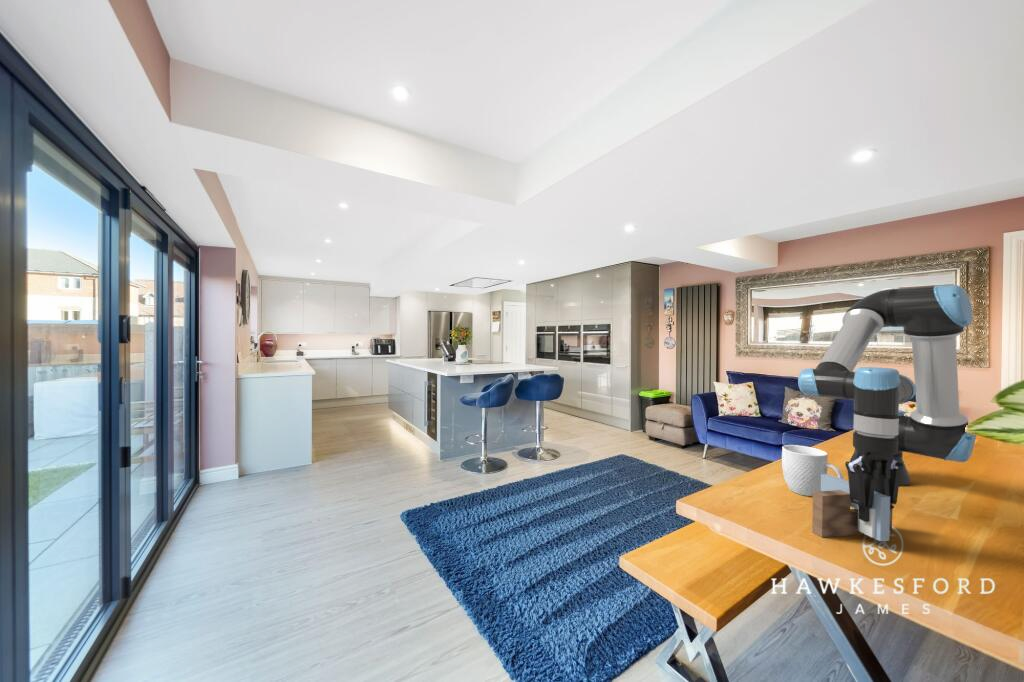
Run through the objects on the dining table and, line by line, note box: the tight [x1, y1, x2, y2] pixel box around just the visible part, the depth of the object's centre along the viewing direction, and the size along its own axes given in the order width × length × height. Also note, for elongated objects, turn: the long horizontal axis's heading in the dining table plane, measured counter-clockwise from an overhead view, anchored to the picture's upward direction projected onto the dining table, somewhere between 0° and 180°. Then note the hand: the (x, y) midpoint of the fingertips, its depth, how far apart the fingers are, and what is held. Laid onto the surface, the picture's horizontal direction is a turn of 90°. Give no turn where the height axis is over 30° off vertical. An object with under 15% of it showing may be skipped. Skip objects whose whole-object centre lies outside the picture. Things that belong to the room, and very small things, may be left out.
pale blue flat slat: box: [821, 473, 890, 542], centre depth 91 cm, size 14×2×10 cm, turn 8°
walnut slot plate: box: [811, 490, 894, 538], centre depth 91 cm, size 20×2×10 cm, turn 98°
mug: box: [781, 444, 845, 497], centre depth 112 cm, size 15×11×13 cm
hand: (872, 533), depth 86 cm, fingers closed on pale blue flat slat, 2 cm apart
